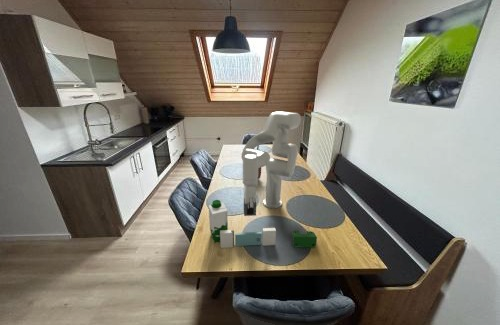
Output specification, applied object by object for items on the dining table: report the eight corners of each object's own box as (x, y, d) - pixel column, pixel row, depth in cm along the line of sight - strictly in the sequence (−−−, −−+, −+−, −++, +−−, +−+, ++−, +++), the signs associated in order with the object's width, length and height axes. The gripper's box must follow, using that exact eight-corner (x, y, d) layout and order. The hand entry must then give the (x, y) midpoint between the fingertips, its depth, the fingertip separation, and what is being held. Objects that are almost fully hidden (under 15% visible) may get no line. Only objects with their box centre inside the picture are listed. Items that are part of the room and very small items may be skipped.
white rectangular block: (220, 244, 106) (220, 230, 102) (273, 241, 108) (275, 227, 105) (220, 247, 104) (219, 233, 100) (274, 244, 106) (275, 230, 103)
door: (235, 244, 106) (235, 233, 103) (260, 242, 107) (261, 231, 104) (235, 247, 104) (235, 236, 101) (261, 246, 105) (262, 235, 102)
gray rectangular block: (243, 210, 111) (243, 197, 108) (254, 210, 112) (255, 197, 109) (244, 216, 107) (244, 202, 104) (255, 215, 108) (256, 202, 105)
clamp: (308, 247, 111) (316, 232, 110) (311, 254, 105) (320, 238, 104) (288, 238, 110) (295, 223, 109) (289, 244, 105) (298, 228, 103)
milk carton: (224, 229, 117) (223, 197, 109) (230, 240, 109) (229, 207, 101) (209, 233, 113) (206, 201, 106) (213, 244, 106) (211, 211, 98)
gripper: (241, 172, 110) (241, 202, 117) (243, 188, 94) (243, 221, 101) (256, 172, 110) (255, 201, 117) (260, 187, 95) (259, 221, 102)
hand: (249, 210), depth 109 cm, fingers closed on gray rectangular block, 4 cm apart
